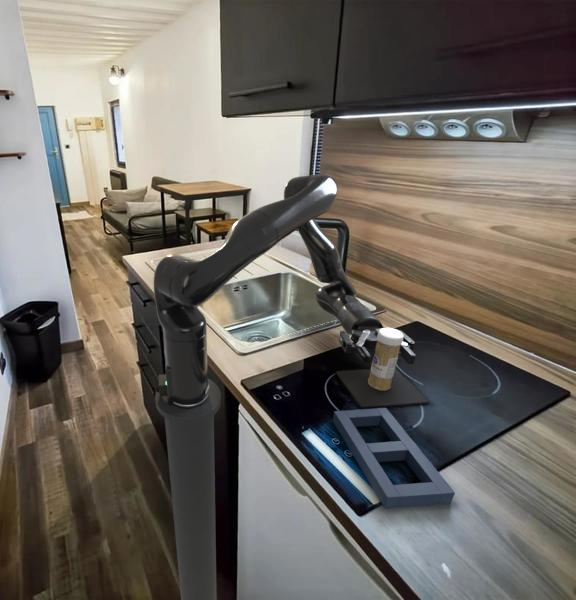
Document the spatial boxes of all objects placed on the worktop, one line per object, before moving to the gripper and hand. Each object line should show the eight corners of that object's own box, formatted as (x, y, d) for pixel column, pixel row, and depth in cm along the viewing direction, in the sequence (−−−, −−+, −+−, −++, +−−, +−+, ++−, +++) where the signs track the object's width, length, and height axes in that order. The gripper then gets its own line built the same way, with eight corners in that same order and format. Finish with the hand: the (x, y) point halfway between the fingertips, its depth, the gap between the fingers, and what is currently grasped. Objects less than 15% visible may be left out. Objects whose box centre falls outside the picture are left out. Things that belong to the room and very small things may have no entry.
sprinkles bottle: (362, 381, 81) (373, 329, 76) (379, 376, 82) (391, 325, 77) (378, 393, 77) (391, 339, 72) (396, 389, 78) (409, 335, 73)
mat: (361, 408, 74) (361, 406, 74) (335, 373, 85) (335, 371, 85) (428, 403, 75) (429, 401, 74) (394, 369, 85) (395, 367, 85)
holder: (384, 508, 55) (387, 497, 54) (332, 420, 72) (334, 411, 71) (450, 503, 55) (455, 492, 54) (383, 417, 72) (386, 407, 71)
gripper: (330, 309, 88) (357, 345, 73) (391, 308, 87) (431, 344, 72) (327, 336, 91) (352, 376, 77) (385, 335, 90) (422, 375, 76)
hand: (390, 360), depth 75 cm, fingers open, 8 cm apart
